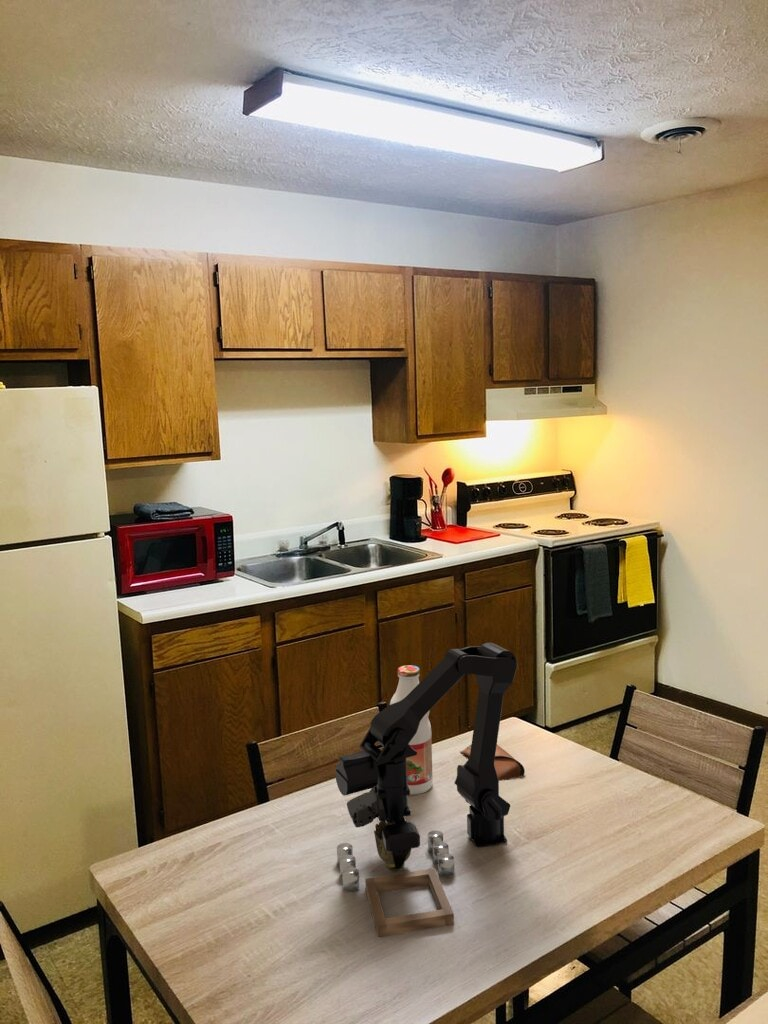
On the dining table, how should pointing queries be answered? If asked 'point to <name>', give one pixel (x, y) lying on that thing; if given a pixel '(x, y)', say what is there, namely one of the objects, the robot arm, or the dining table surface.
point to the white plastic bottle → (416, 736)
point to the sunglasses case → (502, 764)
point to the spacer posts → (434, 846)
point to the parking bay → (413, 920)
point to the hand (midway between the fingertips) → (394, 857)
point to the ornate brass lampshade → (381, 849)
